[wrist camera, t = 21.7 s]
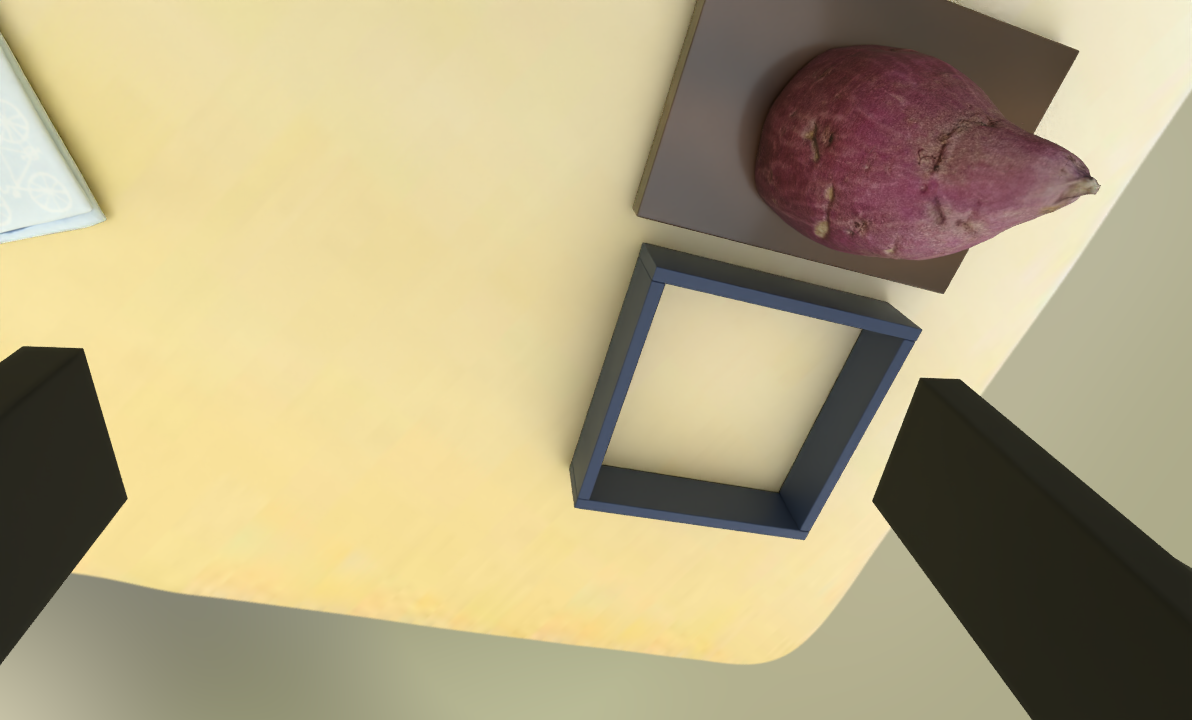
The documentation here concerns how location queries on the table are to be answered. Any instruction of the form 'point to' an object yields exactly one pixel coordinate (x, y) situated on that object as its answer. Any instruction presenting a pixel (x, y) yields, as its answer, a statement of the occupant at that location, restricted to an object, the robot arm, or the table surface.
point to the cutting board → (763, 69)
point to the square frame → (826, 443)
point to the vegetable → (904, 158)
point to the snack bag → (36, 165)
